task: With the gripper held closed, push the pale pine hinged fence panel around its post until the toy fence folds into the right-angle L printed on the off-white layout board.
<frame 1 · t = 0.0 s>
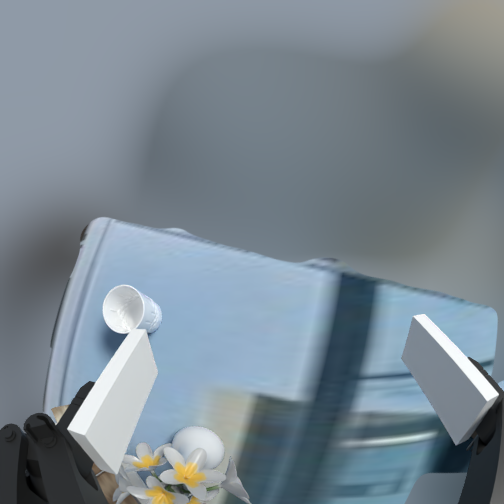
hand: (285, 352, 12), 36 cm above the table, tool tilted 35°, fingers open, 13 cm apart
fixed fence section: (107, 461, 37), resting on layout board
hinged fence panel: (77, 434, 35), point 4 cm above the table, hinge at 0.0°
white cup: (146, 316, 48), on the table
layout board: (97, 472, 36), on the table
flower vase: (204, 440, 40), on the table
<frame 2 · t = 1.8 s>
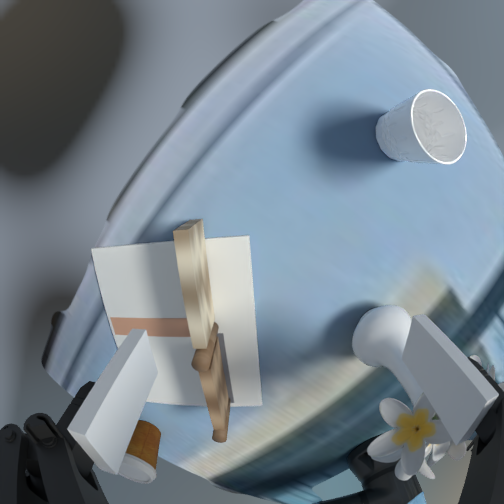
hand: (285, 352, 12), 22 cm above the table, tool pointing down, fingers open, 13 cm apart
fixed fence section: (211, 325, 36), resting on layout board
disposable coffee cup: (146, 428, 43), on the table
hinged fence panel: (196, 282, 30), point 4 cm above the table, hinge at 0.0°
white cup: (396, 136, 29), on the table
layout board: (179, 337, 37), on the table
flower vase: (379, 321, 36), on the table
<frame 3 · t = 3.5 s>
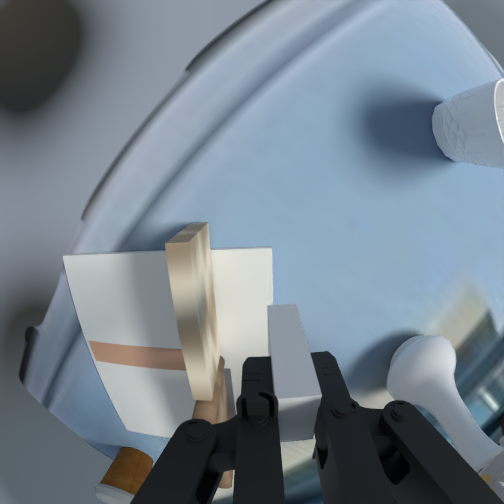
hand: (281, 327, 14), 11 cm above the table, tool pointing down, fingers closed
fixed fence section: (216, 357, 27), resting on layout board
disposable coffee cup: (137, 455, 35), on the table
hinged fence panel: (198, 312, 21), point 4 cm above the table, hinge at 0.0°
white cup: (452, 131, 20), on the table
layout board: (174, 369, 28), on the table
flower vase: (415, 351, 28), on the table
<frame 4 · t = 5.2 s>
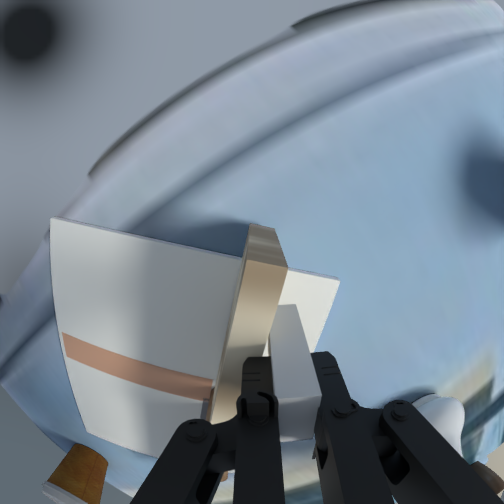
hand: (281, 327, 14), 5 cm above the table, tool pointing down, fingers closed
disposable coffee cup: (91, 454, 28), on the table
hinged fence panel: (237, 349, 15), point 4 cm above the table, hinge at 0.0°
plant pot: (468, 468, 36), on the table
layout board: (166, 390, 21), on the table
flower vase: (423, 407, 23), on the table
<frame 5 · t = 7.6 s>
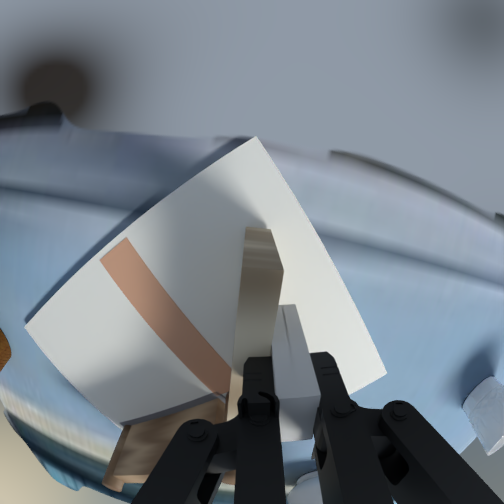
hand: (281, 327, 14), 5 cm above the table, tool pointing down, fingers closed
fixed fence section: (238, 391, 21), resting on layout board
hinged fence panel: (246, 353, 15), point 4 cm above the table, hinge at 51.0°, touching gripper
white cup: (478, 392, 24), on the table
layout board: (183, 363, 20), on the table
flower vase: (321, 476, 28), on the table
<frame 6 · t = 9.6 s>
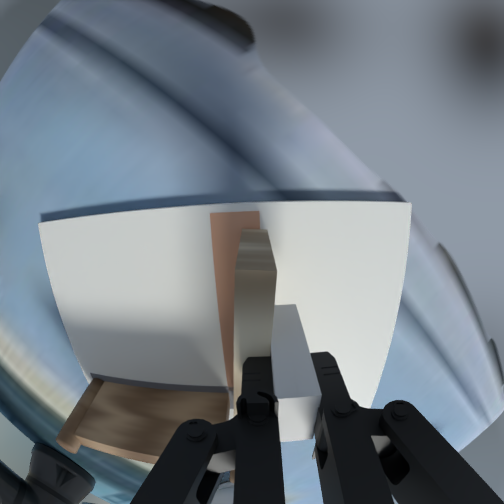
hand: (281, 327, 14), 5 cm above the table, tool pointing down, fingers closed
fixed fence section: (247, 393, 21), resting on layout board
hinged fence panel: (250, 354, 15), point 4 cm above the table, hinge at 85.3°, touching gripper
layout board: (217, 349, 20), on the table
flower vase: (242, 488, 29), on the table
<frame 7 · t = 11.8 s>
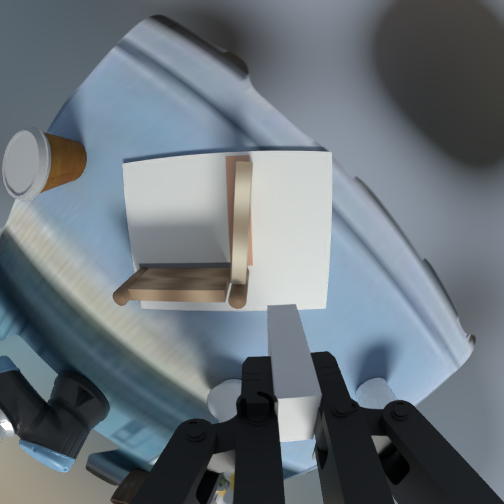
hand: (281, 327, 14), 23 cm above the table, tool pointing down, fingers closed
fixed fence section: (242, 270, 38), resting on layout board
disposable coffee cup: (72, 161, 34), on the table
hinged fence panel: (242, 219, 31), point 4 cm above the table, hinge at 85.3°
plant pot: (143, 473, 61), on the table
white cup: (370, 388, 45), on the table
layout board: (225, 235, 36), on the table
flower vase: (237, 391, 45), on the table
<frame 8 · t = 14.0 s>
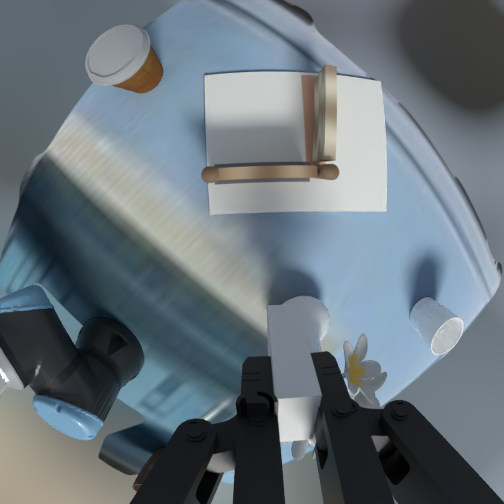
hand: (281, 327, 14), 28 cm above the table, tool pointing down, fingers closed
fixed fence section: (315, 171, 39), resting on layout board
disposable coffee cup: (145, 76, 35), on the table
hinged fence panel: (324, 115, 32), point 4 cm above the table, hinge at 85.3°
plant pot: (169, 453, 61), on the table
white cup: (422, 311, 46), on the table
layout board: (301, 139, 38), on the table
flower vase: (300, 315, 46), on the table
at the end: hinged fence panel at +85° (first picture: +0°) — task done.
